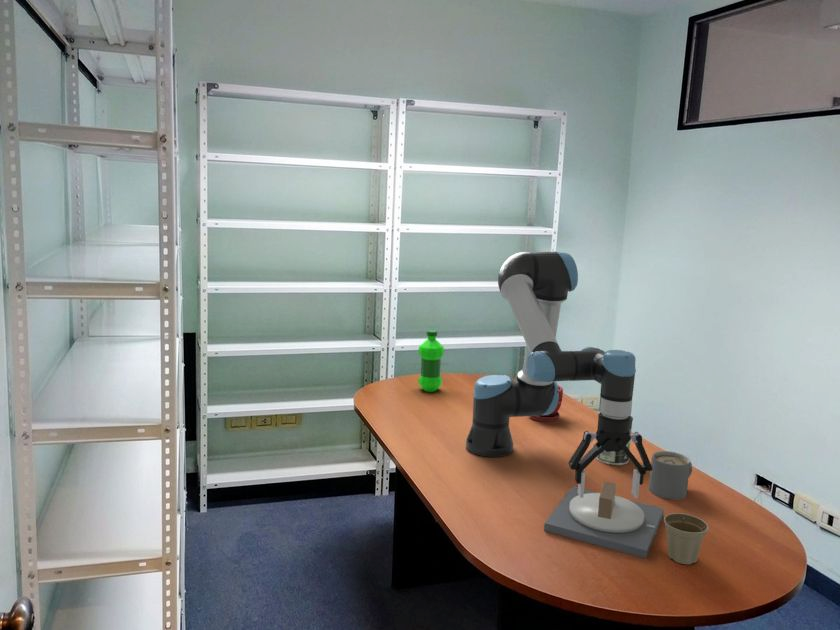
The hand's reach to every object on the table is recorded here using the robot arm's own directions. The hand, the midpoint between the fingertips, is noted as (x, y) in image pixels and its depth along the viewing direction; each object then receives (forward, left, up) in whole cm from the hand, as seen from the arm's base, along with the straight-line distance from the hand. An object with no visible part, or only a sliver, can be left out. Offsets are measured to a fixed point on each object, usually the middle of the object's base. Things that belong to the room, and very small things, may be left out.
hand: (607, 495), depth 163 cm
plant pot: (-39, +69, -8) cm, 80 cm away
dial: (0, 0, -5) cm, 5 cm away
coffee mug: (+12, +29, -8) cm, 32 cm away
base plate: (0, 0, -7) cm, 7 cm away
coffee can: (-8, +43, -8) cm, 44 cm away
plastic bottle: (-90, +76, -7) cm, 118 cm away
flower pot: (+19, -7, -8) cm, 22 cm away
